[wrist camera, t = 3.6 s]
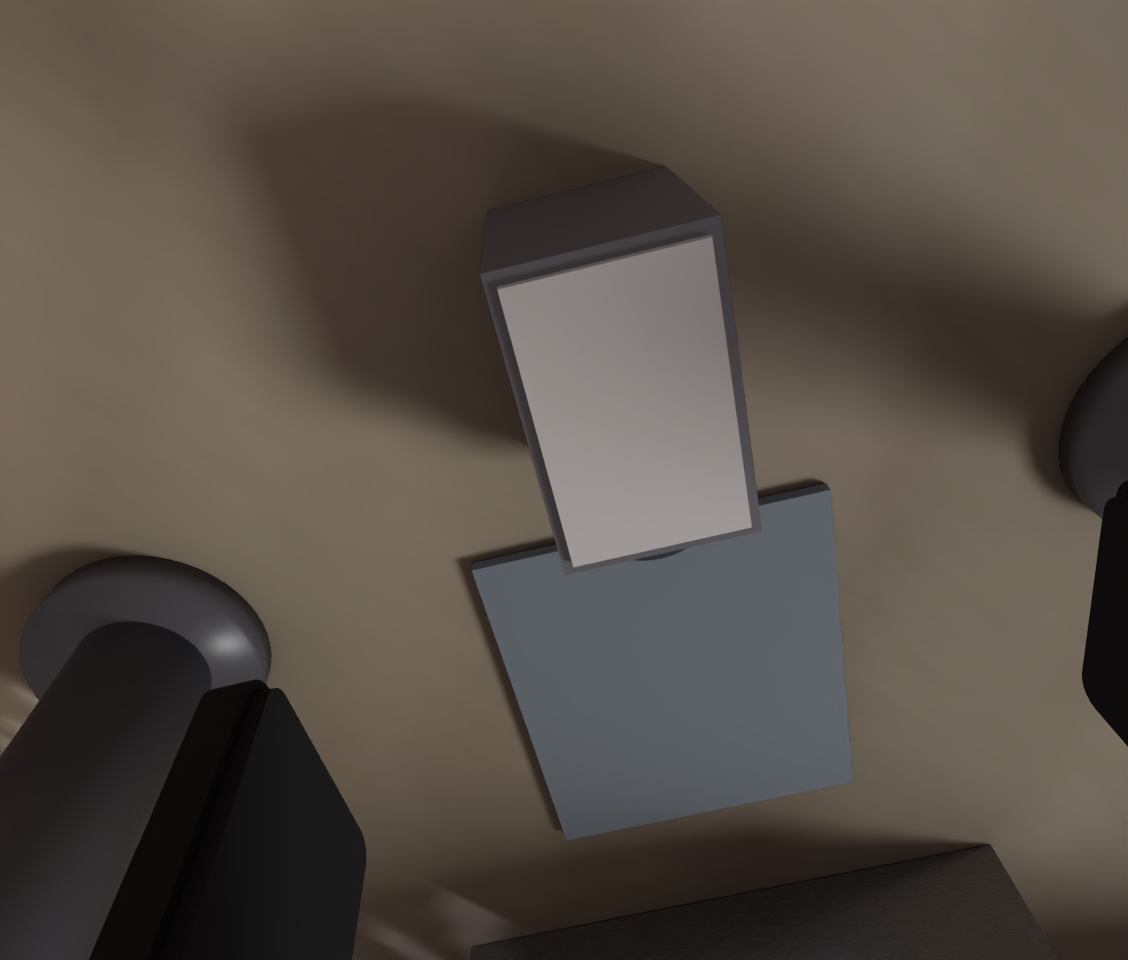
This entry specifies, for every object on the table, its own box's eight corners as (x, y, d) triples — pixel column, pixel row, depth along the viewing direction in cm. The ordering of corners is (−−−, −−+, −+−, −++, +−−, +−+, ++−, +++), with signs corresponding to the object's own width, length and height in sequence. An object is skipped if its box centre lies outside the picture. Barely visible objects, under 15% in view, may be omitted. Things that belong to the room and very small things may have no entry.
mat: (825, 483, 25) (830, 489, 24) (849, 773, 31) (853, 782, 30) (472, 563, 25) (471, 570, 25) (566, 831, 31) (566, 840, 31)
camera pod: (664, 165, 20) (723, 216, 15) (709, 448, 24) (769, 571, 18) (486, 210, 20) (479, 277, 15) (559, 483, 24) (574, 615, 19)
